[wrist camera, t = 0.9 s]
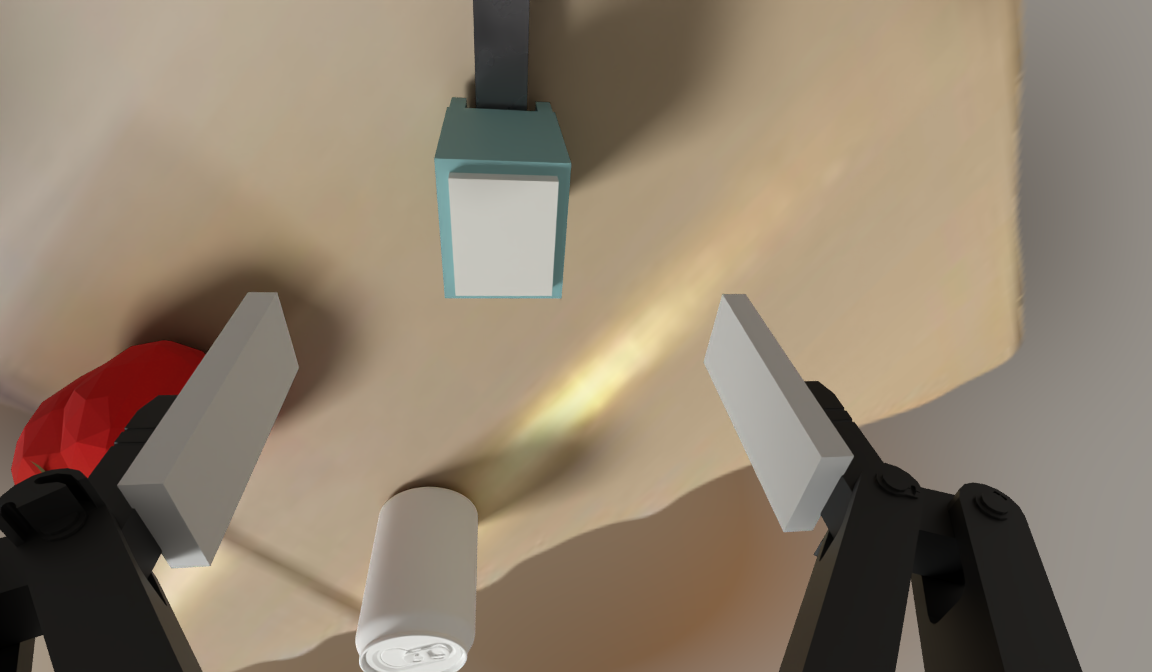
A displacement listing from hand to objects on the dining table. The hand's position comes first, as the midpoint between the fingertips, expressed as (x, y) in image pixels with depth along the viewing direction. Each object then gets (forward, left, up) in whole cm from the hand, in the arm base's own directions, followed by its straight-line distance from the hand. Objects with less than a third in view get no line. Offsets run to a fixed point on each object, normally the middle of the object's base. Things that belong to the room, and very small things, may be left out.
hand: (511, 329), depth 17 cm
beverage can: (-6, -31, -16) cm, 35 cm away
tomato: (-21, -16, -16) cm, 31 cm away
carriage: (0, 0, -16) cm, 16 cm away
